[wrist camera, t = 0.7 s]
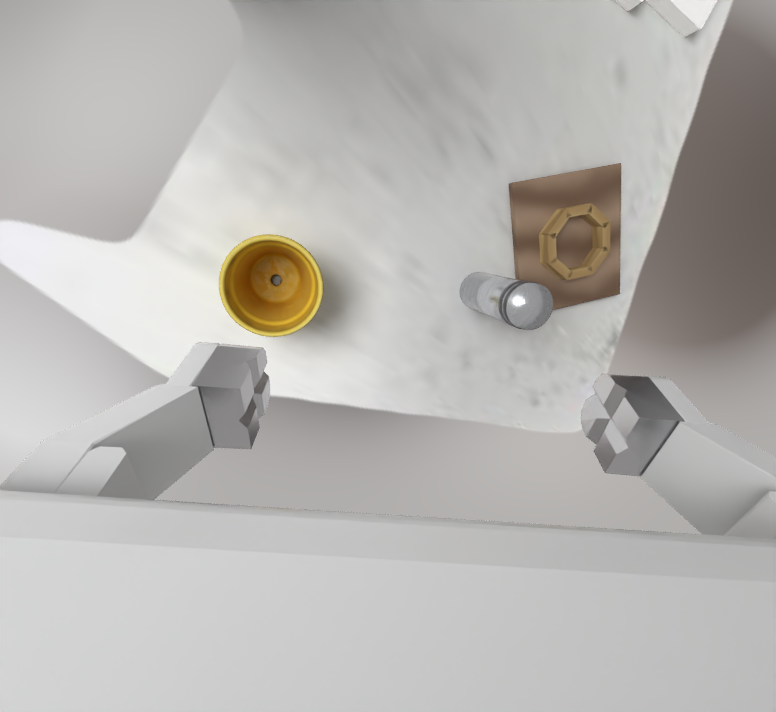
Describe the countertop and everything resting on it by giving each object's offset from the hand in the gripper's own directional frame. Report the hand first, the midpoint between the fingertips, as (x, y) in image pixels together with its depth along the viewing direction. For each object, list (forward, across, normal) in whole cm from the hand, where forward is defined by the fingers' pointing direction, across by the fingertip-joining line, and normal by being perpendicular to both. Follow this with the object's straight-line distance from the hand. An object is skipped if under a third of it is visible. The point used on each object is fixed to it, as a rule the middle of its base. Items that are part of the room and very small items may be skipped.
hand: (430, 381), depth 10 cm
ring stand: (+48, -24, +12) cm, 55 cm away
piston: (+43, -12, +18) cm, 48 cm away
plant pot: (+38, +14, +16) cm, 44 cm away
